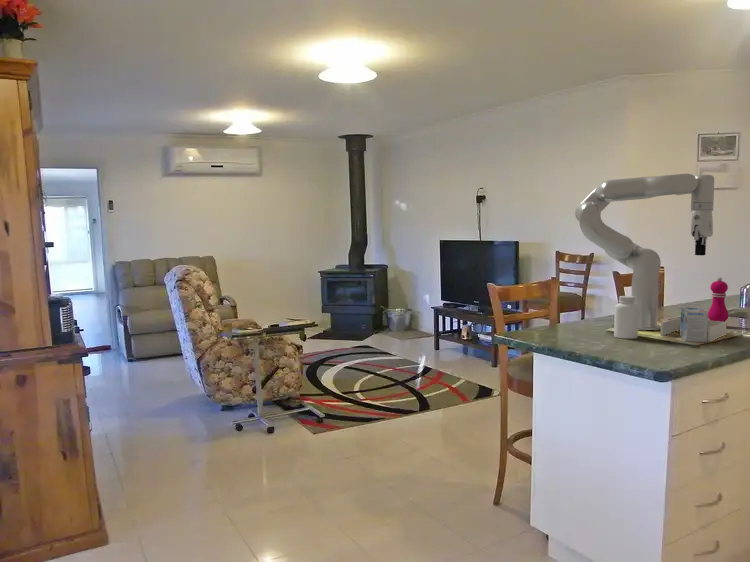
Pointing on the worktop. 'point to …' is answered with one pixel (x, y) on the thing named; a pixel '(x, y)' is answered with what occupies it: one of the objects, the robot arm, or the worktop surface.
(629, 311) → the pill bottle
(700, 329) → the light bulb box
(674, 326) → the cream bay
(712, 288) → the pepper mill
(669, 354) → the worktop surface
